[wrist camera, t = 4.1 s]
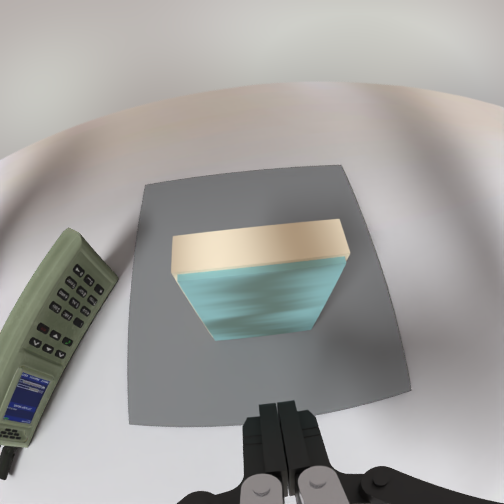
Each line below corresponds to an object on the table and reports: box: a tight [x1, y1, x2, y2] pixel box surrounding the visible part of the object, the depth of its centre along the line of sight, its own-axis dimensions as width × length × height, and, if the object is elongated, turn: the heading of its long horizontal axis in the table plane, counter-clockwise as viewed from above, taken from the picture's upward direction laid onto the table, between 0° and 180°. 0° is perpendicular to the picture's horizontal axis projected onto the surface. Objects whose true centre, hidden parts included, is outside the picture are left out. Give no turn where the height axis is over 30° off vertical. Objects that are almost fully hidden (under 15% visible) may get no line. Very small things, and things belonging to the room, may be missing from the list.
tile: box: [171, 219, 350, 341], centre depth 16 cm, size 7×2×10 cm, turn 96°
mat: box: [127, 165, 411, 427], centre depth 22 cm, size 20×22×1 cm
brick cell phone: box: [0, 228, 118, 480], centre depth 15 cm, size 7×3×25 cm
